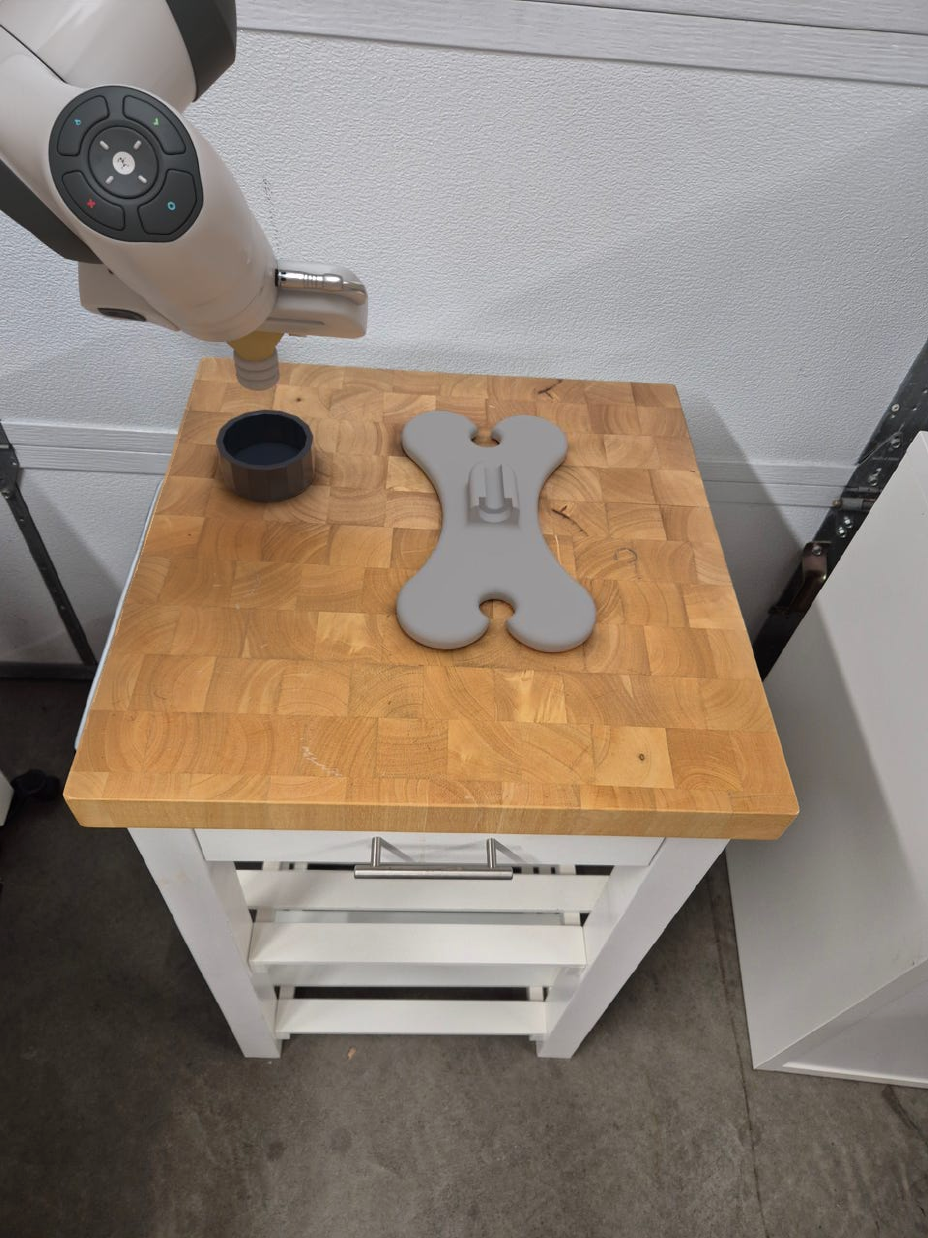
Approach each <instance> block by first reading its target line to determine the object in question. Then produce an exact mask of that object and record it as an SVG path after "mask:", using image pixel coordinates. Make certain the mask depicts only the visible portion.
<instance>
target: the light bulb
mask: <svg viewBox="0 0 928 1238" xmlns="http://www.w3.org/2000/svg"><path fill="white" fill-rule="evenodd" d="M284 335H286V333H274V332H262V331H253V332H251V333H250V334H248V335H246V336H244V337H242V338H239V339H236V340H233V341H227V342H225V343H226V344H227V345H228V346H229V347H230V348H231V349H233V352H232V356H233V361H234V369H235V376H236V381H237V382H238V384H240V386H242V387H244V388H245V389H248V390H250V391H254V392H264V391H267V390H269V389H271V388H273V387H275V386H276V385H277V384H278V383H279V381H280V378H281V372H280V364H279V363H280V362H279V355H278V350H277V345H278V344H279V343H280V342H281V340H282V339H283V337H284Z"/></svg>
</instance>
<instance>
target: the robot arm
mask: <svg viewBox="0 0 928 1238" xmlns="http://www.w3.org/2000/svg"><path fill="white" fill-rule="evenodd" d="M236 3H237V2H236V0H0V211H1V212H2V213H3V214H5V215H6V216H7V217H8V218H10V219H11V220H13V221H14V222H15V223H17V224H18V225H19V226H21V227H22V228H24V229H25V230H26V231H28V232H29V233H31V234H32V235H33V236H34V237H35V238H36V239H37V240H39V241H40V242H41V243H42V244H44V245H45V246H46V247H48V248H49V249H50V250H52V251H53V252H55V253H56V254H57V255H59V256H60V257H62V258H63V259H64V260H69V261H74V262H76V263H77V278H78V279H77V280H78V293H79V294H78V295H79V301H80V302H79V303H80V306H81V307H82V308H83V309H85V310H86V311H88V312H90V313H92V314H94V315H100V316H102V317H104V318H106V319H111V320H115V321H116V320H117V321H123V322H124V321H125V322H140V323H150V324H153V325H156V326H159V327H162V328H165V329H167V330H170V331H172V332H173V331H174V332H180V331H181V332H182V333H184V334H186V335H187V336H190V337H192V338H193V339H197V340H199V341H203V342H210V343H226V342H227V341H233V340H236V339H239V338H242V337H244V336H246V335H248V334H250V333H251V332H253V331H262V332H274V333H285V334H286V335H287V334H288V336H289V337H296V338H307V337H308V336H311V337H312V336H314V337H325V338H337V339H347V340H355V339H360V338H363V337H365V336H366V334H367V329H368V319H369V318H368V317H369V293H368V291H367V288H366V285H365V284H364V283H363V281H361V279H360V278H359V277H358V275H357V274H356V273H355V272H354V271H352V270H351V269H349V268H347V267H344V266H341V265H338V264H333V263H326V262H318V261H317V262H316V261H306V260H305V261H304V260H294V259H282V258H277V257H276V254H275V252H274V250H273V247H272V246H271V244H270V242H269V240H268V238H267V237H266V234H265V232H264V230H263V228H262V225H260V223H259V221H258V219H257V217H256V216H255V215H254V213H253V211H252V210H251V209H250V208H249V204H248V202H247V199H246V196H245V195H244V193H243V191H242V189H241V187H240V185H239V183H238V181H237V180H236V178H235V177H234V174H233V173H232V172H231V170H230V169H229V167H228V165H227V164H226V163H225V161H224V159H222V157H221V156H220V154H219V153H218V151H216V149H215V147H213V146H212V144H211V143H210V142H209V141H208V140H207V139H206V137H205V136H204V135H203V134H202V133H201V132H200V131H199V130H198V128H196V126H194V124H193V123H192V122H191V121H190V120H188V118H187V117H185V116H184V115H183V114H184V113H185V112H186V110H187V109H188V107H189V106H190V105H191V104H192V103H196V102H197V101H198V100H199V99H200V98H201V97H202V96H203V95H204V94H205V93H206V92H207V91H208V90H209V89H210V88H211V87H212V86H213V85H214V84H215V83H216V82H217V81H218V80H219V79H220V78H221V77H222V75H224V74H225V73H226V71H228V70H229V69H230V68H231V66H232V65H234V64H235V62H236V55H237V41H238V20H237V19H238V18H237V4H236Z"/></svg>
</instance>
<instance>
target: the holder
mask: <svg viewBox="0 0 928 1238" xmlns="http://www.w3.org/2000/svg"><path fill="white" fill-rule="evenodd" d="M478 435H479V427H477V425H476V424H475V423H474V422H473V421H472V420H471V419H469V418H468V417H466V416H464V415H462V414H460V413H458V412H453V411H450V410H429V411H428V410H427V411H425V412H422V413H421V412H420V413H418V414H416V415H414V416H413V417H412V418H409V420H408V421H407V422H406V423H405V424H404V427H403V428H402V431H401V445H402V449H403V451H404V452H405V454H406V455H407V456H408V457H409V458H410V459H411V460H412V461H413V462H414V463H415V464H416V465H417V466H418V467H419V468H420V469H421V470H422V471H423V472H424V474H425V475H426V476H427V477H428V478H429V480H430V483H432V486H433V487H434V489H435V491H436V493H437V496H438V498H439V502H440V507H441V515H442V523H441V530H440V532H439V533H440V534H439V537H438V540H437V542H436V545H435V547H434V549H433V550H432V552H431V553H430V555H429V557H428V558H427V560H426V561H425V562H424V564H423V565H422V566H421V567H420V568H419V569H418V570H417V572H416V573H415V574H413V576H412V577H410V579H408V580H407V581H405V583H404V584H403V585H402V587H401V589H400V590H399V592H398V594H397V598H396V605H395V606H396V607H395V608H396V609H395V610H396V611H395V612H396V617H397V621H398V623H399V625H400V626H401V628H402V630H403V631H404V632H405V634H406V635H408V636H409V637H410V638H411V639H412V640H413V641H415V642H417V643H418V644H421V645H423V646H425V647H429V648H432V649H437V650H455V649H460V648H463V647H466V646H469V645H471V644H472V643H475V642H477V640H479V639H480V638H481V637H483V635H484V634H485V633H486V631H487V630H488V628H489V627H490V623H491V618H490V617H488V616H486V615H485V614H484V613H483V612H482V611H481V609H480V606H481V605H482V604H483V603H484V602H486V601H489V600H499V601H502V602H504V603H507V604H508V605H510V606H511V608H512V609H513V612H514V614H513V615H511V617H509V618H507V619H506V620H505V624H504V626H505V628H506V629H507V631H508V632H509V633H510V635H511V636H512V637H513V638H514V639H516V640H517V641H518V642H520V643H521V644H522V645H524V646H526V647H528V648H530V649H533V650H536V651H540V652H545V653H561V652H567V651H570V650H574V649H575V648H577V647H579V646H581V645H582V644H583V643H585V642H586V641H587V640H588V639H589V637H590V636H591V635H592V633H593V631H594V628H595V625H596V622H597V607H596V604H595V602H594V599H593V598H592V596H591V594H590V593H589V592H588V590H587V589H586V588H585V587H584V586H583V585H582V584H581V583H579V582H578V581H577V580H576V579H575V578H574V577H572V575H570V574H569V572H568V571H567V570H566V569H565V568H564V567H563V566H562V564H561V563H560V562H559V561H558V560H557V558H556V556H555V555H554V554H553V552H552V551H551V549H550V547H549V546H548V544H547V541H546V539H545V537H544V534H543V531H542V528H541V524H540V520H539V508H538V506H539V499H540V494H541V491H542V489H543V487H544V486H545V484H546V482H547V480H548V478H549V477H550V476H551V474H553V472H555V470H556V469H558V467H560V465H562V464H563V462H564V461H565V459H566V457H567V455H568V450H569V442H568V438H567V436H566V434H565V432H564V431H563V429H561V428H560V427H559V426H558V425H557V424H555V423H554V422H553V421H551V420H549V419H546V418H544V417H540V416H537V415H530V414H517V415H511V416H508V417H505V418H503V419H501V420H500V421H498V422H497V423H496V424H495V425H494V426H493V427H492V429H491V432H490V437H491V438H492V439H493V440H495V441H496V442H497V443H499V444H497V445H494V446H481V445H479V444H476V443H475V442H473V441H472V440H473V439H475V438H477V437H478Z"/></svg>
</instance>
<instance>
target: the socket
mask: <svg viewBox="0 0 928 1238" xmlns="http://www.w3.org/2000/svg"><path fill="white" fill-rule="evenodd" d="M215 444H216V445H215V446H216V450H217V456H218V460H219V465H220V470H221V473H222V478H223V482H224V483H225V485H226V486H227V488H228V489H229V490H230V491H231V492H232V493H233V494H235V495H236V496H238V497H240V498H243V499H245V500H248V501H251V502H257V503H276V502H277V503H278V502H282V501H286V500H289V499H292V498H294V497H296V496H298V495H300V494H301V493H303V492H304V491H305V490H307V489H308V487H310V485H311V484H312V482H313V480H314V478H315V476H316V452H315V439H314V434H313V432H312V430H311V428H310V425H309V424H308V423H306V421H304V420H302V418H300V417H299V416H297V415H295V414H292V413H289V412H286V411H284V410H275V409H259V410H253V411H245V412H244V413H242V414H239V415H237V416H235V417H232V418H231V419H229V420H228V421H227V422H225V423H224V425H223V426H221V427H220V428H219V431H218V434H217V436H216V439H215Z"/></svg>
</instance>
